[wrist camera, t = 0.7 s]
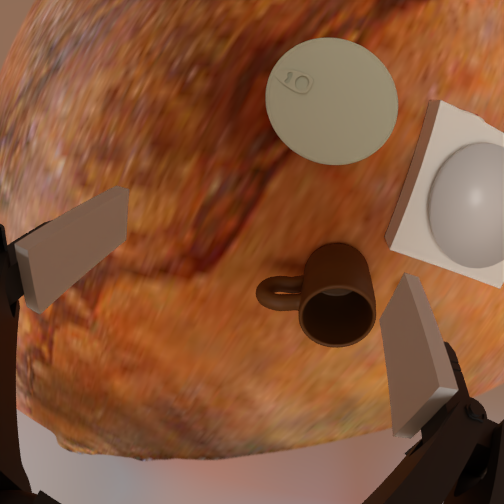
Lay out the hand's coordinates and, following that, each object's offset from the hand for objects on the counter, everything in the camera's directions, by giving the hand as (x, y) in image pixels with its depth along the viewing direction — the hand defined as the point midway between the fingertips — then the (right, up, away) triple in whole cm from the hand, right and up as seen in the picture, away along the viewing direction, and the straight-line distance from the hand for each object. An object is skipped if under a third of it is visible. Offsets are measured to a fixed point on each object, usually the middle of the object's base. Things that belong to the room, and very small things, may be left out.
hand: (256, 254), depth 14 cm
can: (+8, +15, +16) cm, 23 cm away
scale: (+24, +6, +16) cm, 29 cm away
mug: (+8, -2, +24) cm, 25 cm away
